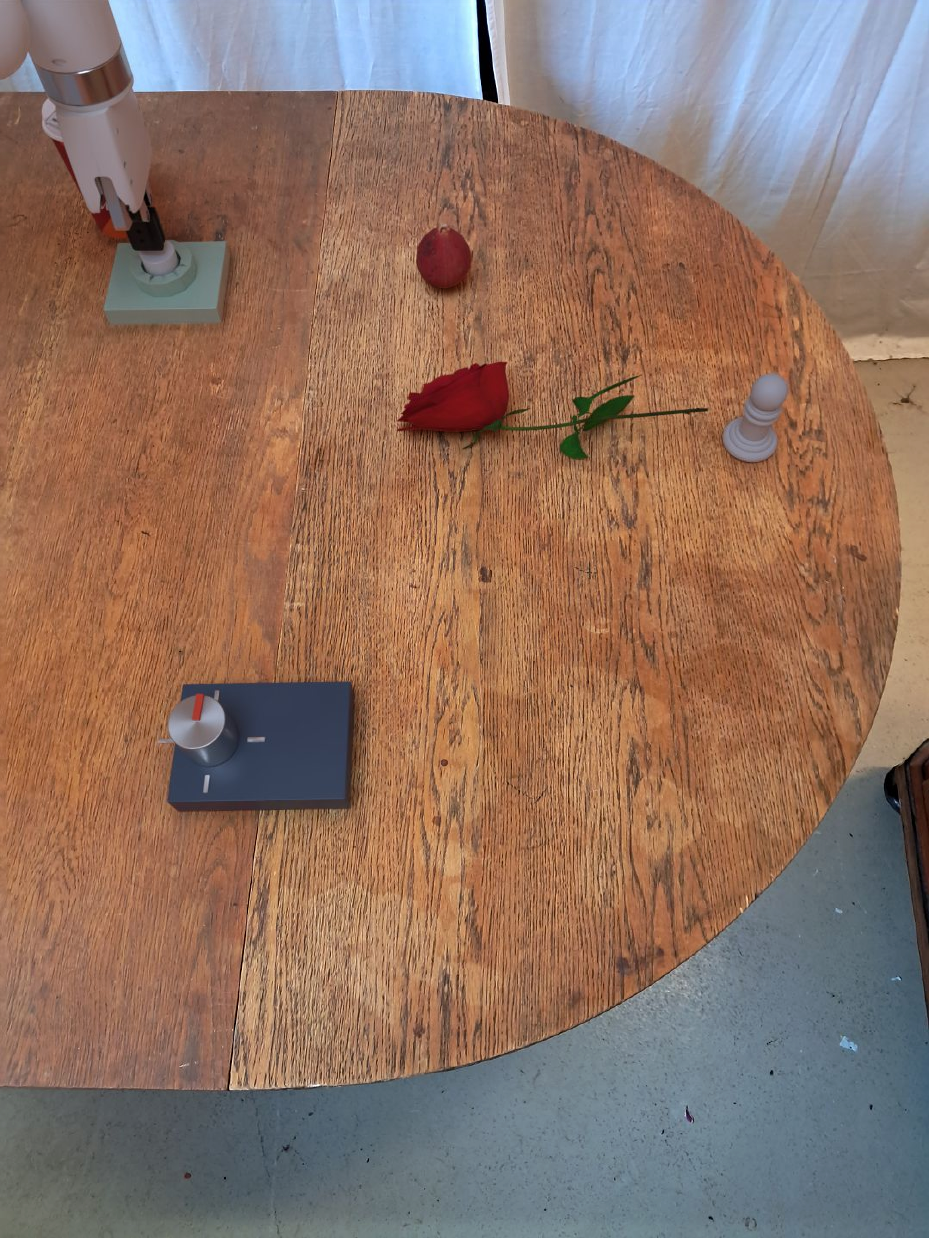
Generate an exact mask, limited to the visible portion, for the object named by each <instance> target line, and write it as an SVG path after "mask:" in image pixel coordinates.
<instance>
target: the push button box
mask: <svg viewBox="0 0 929 1238" xmlns="http://www.w3.org/2000/svg"><path fill="white" fill-rule="evenodd" d="M166 240H167V241H169V242H170V243H171V244H172V245H173V246H174V249H175V252H176V255H177V257H178V260H179V264H178V267H177V268H176V269H175V270H174V271H173V272H171V273H169V274H166V275H164V276H153V275H151V274H149V273H148V272H147V271H146V270H145V267H144V265H143V262H142V260H141V258H140V251H135V250H134V249H133V248H132V246H131V243H130V242H117V246H116V250H115V255H114V259H113V263H112V267H111V273H110V277H109V281H108V282H109V283H108V287H107V291H106V294H105V295H106V296H105V300H104V304H103V308H102V311H103V313H104V315H105V317H106V319H107V320H108V324H109V325H110V326H134V325H135V326H136V325H137V326H138V325H188V324H190V325H191V324H195V325H197V324H222V323H223V315H224V308H225V302H226V295H227V288H228V287H227V286H228V280H229V273H230V265H231V259H232V256H231V253H230V249H229V246H228V243H227V241H226V240H218V241H216V240H215V241H177V240H175V239H166Z"/></svg>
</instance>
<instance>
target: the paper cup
mask: <svg viewBox="0 0 929 1238" xmlns="http://www.w3.org/2000/svg"><path fill="white" fill-rule="evenodd" d="M41 117H42V118H41V127H42V129H43V131H44V133H45V134H46V135H47V136H48V137H49V138H50V139H51V140H52V142H53V144H54V146H55V147H56V150H57V152H58V154H59V156H60V157H61V159H62V161H63V163H64V165H65V167H66V169H67V171H68V172H69V174H70V177H71V179H72V181H73V183H74V184H75V186H76V188H77V190H78V191H79V194H80V195H81V197H82V199H83V200H84V198H83V195H82V193H81V190H80V188H79V185H78V182H77V180H76V177H75V174H74V172H73V169H72V166H71V163H70V160H69V158H68V155H67V152H66V149H65V145H64V142H63V139H62V135H61V132H60V128H59V124H58V120H57V116H56V112H55V105H54V104H53V103H52V102H51V101H50V100H49V99H48V98H46V99H45V101H44V103H42V108H41ZM90 214H91V216H92V218H93V220H94V222H95V223H96V225H97V227H98V228H99V230H100V232H101V233H102V234H103V235H105V236H106V237H109V238H112V239H126V238H128V236H127V233H126V231H125V230H115V228H114V225H113V222H112V219H111V215H110V212H109V209H108V205H107V202H106V199H105V195H104V198H103V202H102V206H101V211H100V213H96V214H93V213H91V212H90Z"/></svg>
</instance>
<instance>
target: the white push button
mask: <svg viewBox="0 0 929 1238" xmlns="http://www.w3.org/2000/svg"><path fill="white" fill-rule="evenodd" d="M167 240H168V239H165V243H164V249H163V250H162V251H140V258H141V260H142V262H143V265H144V267H145V270H146V271H147V272H148V273H149V274H151V275H153V276H164V275H166V274H169V273H171V272H173V271H174V270H175V269H176V268H177V267H178V264H179V260H178V257H177V255H176V252H175V249H174V246H173V245H172V244H171V243H170V242H169V241H167Z"/></svg>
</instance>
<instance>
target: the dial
mask: <svg viewBox="0 0 929 1238" xmlns="http://www.w3.org/2000/svg"><path fill="white" fill-rule="evenodd" d="M167 732H168V735H169V738H170V739H172V740H173V742H174V743H173V744H174V745H175V744H176V745H177V746H178V747H179V748H180V749H181V750H182V751H183V752H184V753H185V754H186V755H187V756H188V757H189V759H190V760H191V761H193V762H194V763H196V764H198V765H201V766H215V765H219V764H221V763H223V762H225V761H226V760H227V759H229V758H230V757H231V756H232V754H233V753H234V752H235V750H236V748H237V745H238V741H239V733H238V729H237V727H236V725H235V724H234V722H233V721H232V719H231V718H230V717H229V715H228V714H227V712H226V711H225V710H224V708H223V707H222V705H221V704H220V703H219V702H218V701H217V700H216V699H214V698H212V697H209V696H206V695H204V694H196V695H195V696H191V697H188V698H186V699H184V700H182V701H181V700H180V702H178V703H177V704H176V705H175V706H174V708H173V709H172V710H171V712H170V714H169V716H168V720H167Z"/></svg>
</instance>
